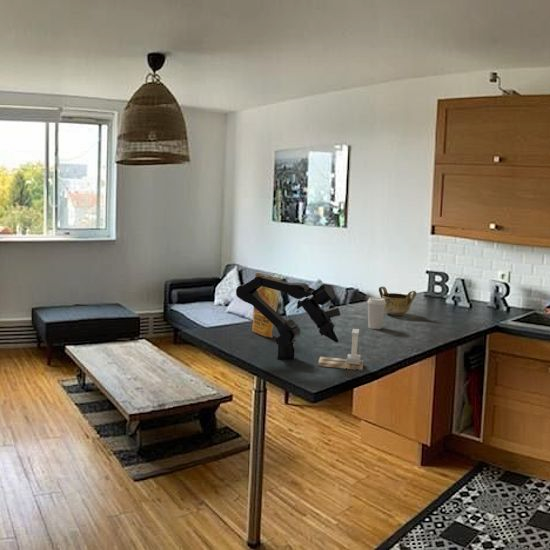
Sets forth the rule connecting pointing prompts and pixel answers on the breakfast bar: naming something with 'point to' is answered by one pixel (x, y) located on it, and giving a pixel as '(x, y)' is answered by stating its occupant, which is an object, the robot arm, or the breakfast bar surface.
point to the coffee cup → (375, 312)
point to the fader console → (338, 363)
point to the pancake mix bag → (271, 298)
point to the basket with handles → (396, 301)
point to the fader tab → (354, 349)
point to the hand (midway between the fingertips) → (337, 341)
